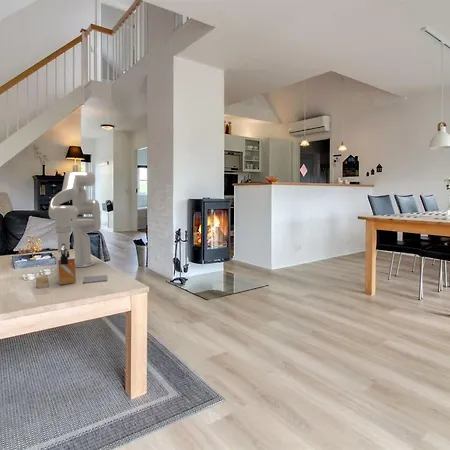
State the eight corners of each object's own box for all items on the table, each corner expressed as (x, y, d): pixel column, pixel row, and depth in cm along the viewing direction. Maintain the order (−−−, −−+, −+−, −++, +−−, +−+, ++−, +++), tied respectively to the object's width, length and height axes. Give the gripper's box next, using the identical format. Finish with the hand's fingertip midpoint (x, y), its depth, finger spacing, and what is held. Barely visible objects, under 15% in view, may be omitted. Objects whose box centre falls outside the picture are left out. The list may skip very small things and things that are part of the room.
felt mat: (84, 278, 191) (83, 276, 191) (106, 275, 195) (106, 274, 195) (82, 283, 180) (82, 282, 180) (107, 281, 184) (107, 280, 184)
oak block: (36, 286, 176) (36, 276, 176) (47, 284, 179) (46, 275, 178) (37, 288, 172) (37, 278, 171) (49, 286, 175) (48, 277, 174)
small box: (59, 285, 177) (57, 260, 176) (57, 282, 182) (56, 258, 181) (76, 282, 181) (74, 258, 180) (74, 280, 187) (72, 256, 185)
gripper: (57, 229, 186) (59, 260, 187) (53, 232, 169) (55, 266, 171) (72, 228, 188) (74, 259, 190) (69, 231, 172) (71, 265, 173)
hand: (65, 262), depth 180 cm, fingers open, 9 cm apart
